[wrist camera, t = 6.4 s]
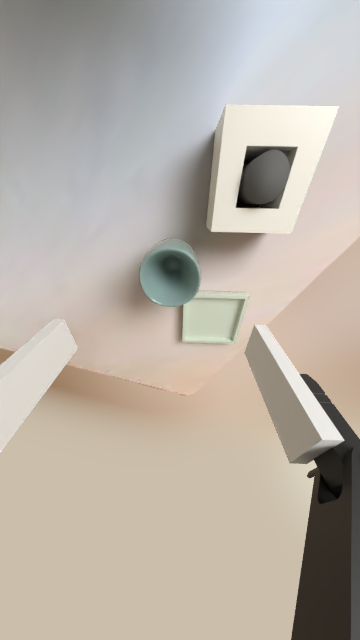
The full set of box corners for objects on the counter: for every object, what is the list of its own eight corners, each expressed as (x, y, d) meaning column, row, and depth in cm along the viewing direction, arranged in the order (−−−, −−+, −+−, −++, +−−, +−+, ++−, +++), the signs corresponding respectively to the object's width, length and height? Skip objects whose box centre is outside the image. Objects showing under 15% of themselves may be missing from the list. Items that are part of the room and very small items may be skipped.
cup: (155, 281, 30) (144, 309, 22) (147, 235, 26) (131, 249, 18) (196, 278, 30) (201, 306, 22) (196, 231, 26) (201, 244, 17)
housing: (215, 129, 19) (225, 104, 14) (299, 131, 19) (339, 106, 14) (206, 226, 25) (211, 231, 20) (270, 227, 25) (291, 233, 20)
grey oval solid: (236, 162, 20) (252, 149, 15) (269, 163, 20) (296, 150, 15) (229, 203, 23) (241, 203, 18) (259, 204, 23) (280, 204, 18)
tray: (183, 290, 31) (183, 294, 30) (246, 291, 31) (249, 296, 30) (182, 336, 39) (182, 342, 37) (233, 338, 38) (235, 343, 37)
